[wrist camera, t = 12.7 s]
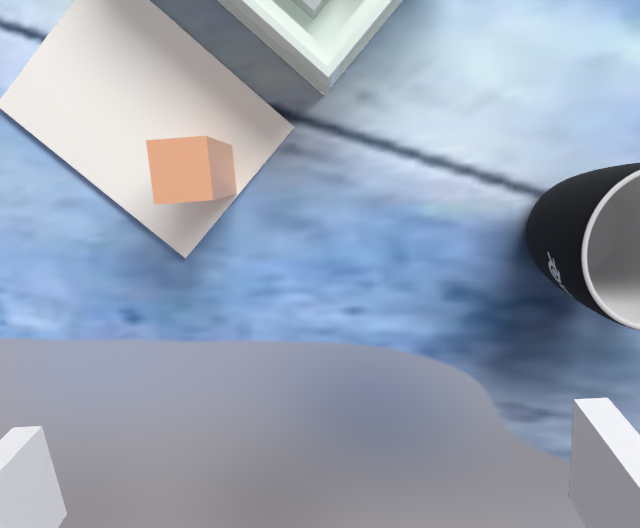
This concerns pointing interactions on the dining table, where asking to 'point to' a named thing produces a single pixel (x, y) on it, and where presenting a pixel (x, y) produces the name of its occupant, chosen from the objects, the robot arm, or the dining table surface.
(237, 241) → the dining table surface
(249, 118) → the lid
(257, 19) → the tub
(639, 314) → the mug
